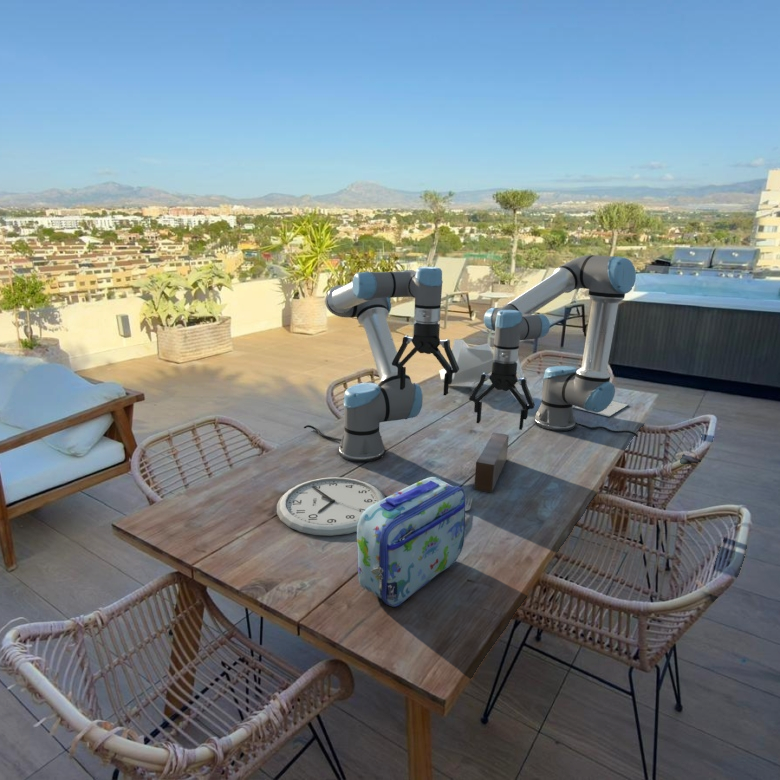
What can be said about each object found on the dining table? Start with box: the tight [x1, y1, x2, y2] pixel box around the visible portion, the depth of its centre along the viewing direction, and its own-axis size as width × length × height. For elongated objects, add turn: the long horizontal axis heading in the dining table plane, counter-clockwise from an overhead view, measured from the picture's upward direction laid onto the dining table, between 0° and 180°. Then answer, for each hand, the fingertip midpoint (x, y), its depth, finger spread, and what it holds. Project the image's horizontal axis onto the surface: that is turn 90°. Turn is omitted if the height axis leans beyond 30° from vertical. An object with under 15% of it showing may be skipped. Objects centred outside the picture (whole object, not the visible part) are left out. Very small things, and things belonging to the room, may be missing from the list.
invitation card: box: [573, 400, 629, 418], centre depth 226 cm, size 21×1×15 cm
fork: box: [465, 496, 473, 512], centre depth 138 cm, size 3×16×2 cm, turn 160°
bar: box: [473, 432, 510, 494], centre depth 162 cm, size 25×5×9 cm, turn 158°
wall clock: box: [276, 476, 386, 537], centre depth 142 cm, size 30×2×30 cm
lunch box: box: [356, 476, 466, 608], centre depth 110 cm, size 26×11×21 cm, turn 134°
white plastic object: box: [438, 338, 525, 400], centre depth 245 cm, size 37×45×31 cm
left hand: (423, 391), depth 158 cm, fingers open, 13 cm apart
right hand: (499, 425), depth 167 cm, fingers open, 13 cm apart
